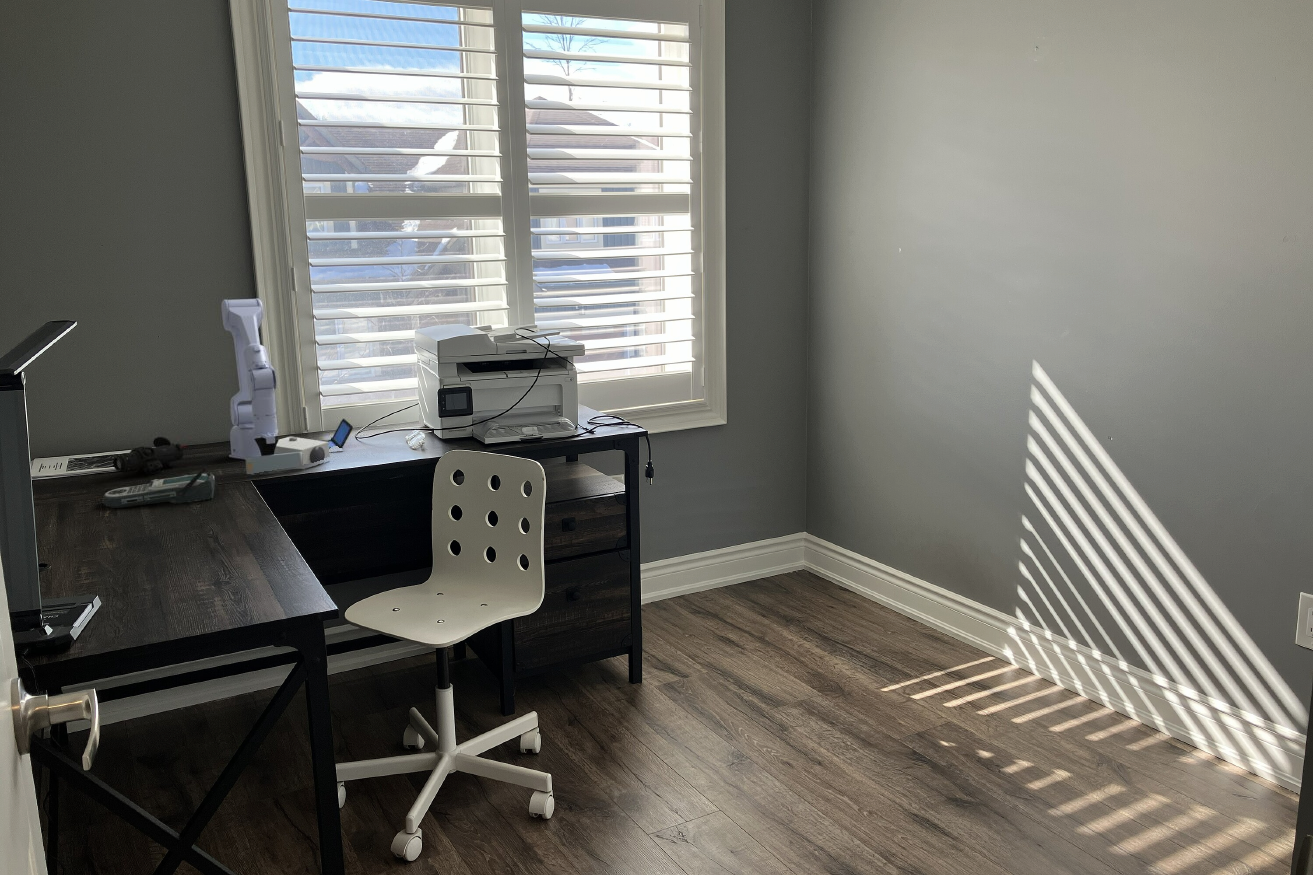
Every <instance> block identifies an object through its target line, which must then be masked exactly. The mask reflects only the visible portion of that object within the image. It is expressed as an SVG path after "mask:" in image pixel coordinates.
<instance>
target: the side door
mask: <svg viewBox="0 0 1313 875" xmlns="http://www.w3.org/2000/svg"><path fill="white" fill-rule="evenodd" d="M297 466H303V461H302V452H293V453H284V454H274V455H265V456H256V457H246V460H245V467H246V468H245V469H246V475H247V474H251V475H255V474H254V473H259V472H264V471H272V470H277V469H284V468H290V467H297Z"/></svg>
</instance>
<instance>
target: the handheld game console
mask: <svg viewBox="0 0 1313 875" xmlns="http://www.w3.org/2000/svg"><path fill="white" fill-rule="evenodd" d="M353 426H354V425H351V423H349V421H348V420H346V419H345V418H342V419H341V421H340V423H339V424H338V426H337V429H336V430H335V432H334V434H333V436H332V437H330V439H323V440H321V441H324V442H329V449H330V448H331V447H333V446H338V447H339V448H343V447H344V446H345V444H346V442H347V441H348V439H349V437H350V435H351V433H352V432H353V428H354V427H353Z"/></svg>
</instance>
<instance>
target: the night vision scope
mask: <svg viewBox="0 0 1313 875" xmlns="http://www.w3.org/2000/svg"><path fill="white" fill-rule="evenodd" d="M152 444H153V447H152V446H146V447H144V446H139V447H135V448H132V449H130V451H129V452H125V453H122V454H120V455H118V456H116V457H114V458H113V461H112V464H113V468H114V469H115V471H117V472H119V471H120V472H131V471H133V473H135V474H137V473H139V472H144V473H145V474H146V475H147V476H151V475H155V474H160V473H162V470H161V469H163V468H164V467H168V466H170V464H171V463H173V462H176V461H181V460H182V459H183V457H184V449H185V450H186V449H187V447H185V445H183V444H181V443H179V442H177V443H176V444H175V443H174V442H173V443H172V442H171V441H170V440H169V439H168V438H167V437H165V436H157V437H155V438H154V439H153V442H152ZM134 471H135V472H134Z"/></svg>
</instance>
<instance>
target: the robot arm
mask: <svg viewBox="0 0 1313 875" xmlns="http://www.w3.org/2000/svg"><path fill="white" fill-rule="evenodd" d="M220 308H221V316H222V324H223V327H224V330H225V331H228V332H230V333H231V335H232V338H233V344H234V353H235V362H236V370H237V378H238V386H239V388H238V389H239V391H238V392H236V394H235V395H233V396H232V397H231V399H230V401H229V402H230V403H229V405H230V410H229V411H230V419H231V423H232V425H234V426H232V428H231V429H230V432H229V439H230V453H231V454H229V455H228V456H229V458H232V459H239V460H240V459H241V460H245V461H246V457H256V456H265V455H274V452H275V448H276V445H277V443H278V441H279V437H278V436H277V434H279V428H278V423H277V409H276V393H275V390H276V389H277V382H278V381H277V380H278V379H277V375H276V370H275V368H274V366H273V365H272V364H270V360H269V356H268V351H267V349H266V347H265V346H264V345H262V344H261V343H260V342H261V341H260V336H259V328H260V326H261V323H262V321H263V318H264V306H263V303H262V300H261V299H260V298H259V297H258V298H248V299H247V298H246V299H245V298H244V299H240V298H239V299H223V300H222V301H221V307H220ZM248 401H251V402H248ZM241 402H242V403H241Z"/></svg>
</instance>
